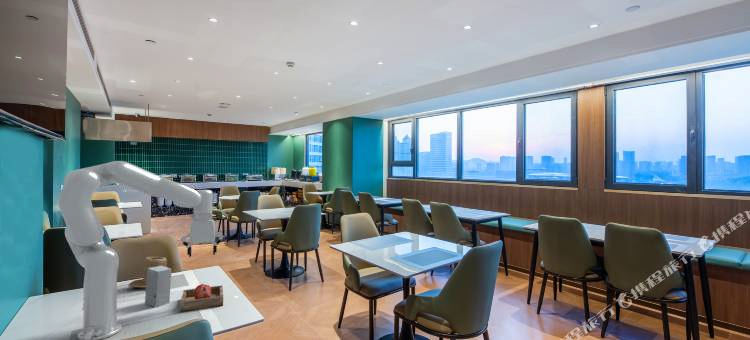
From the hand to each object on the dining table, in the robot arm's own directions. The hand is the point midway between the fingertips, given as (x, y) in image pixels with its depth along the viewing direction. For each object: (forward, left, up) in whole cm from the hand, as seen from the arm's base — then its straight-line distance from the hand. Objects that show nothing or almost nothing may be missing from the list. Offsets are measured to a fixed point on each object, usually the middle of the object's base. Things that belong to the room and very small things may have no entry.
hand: (202, 255), depth 154 cm
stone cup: (+35, +25, -22) cm, 48 cm away
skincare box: (+7, +18, -22) cm, 29 cm away
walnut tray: (0, 0, -21) cm, 21 cm away
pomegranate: (0, 0, -21) cm, 21 cm away
